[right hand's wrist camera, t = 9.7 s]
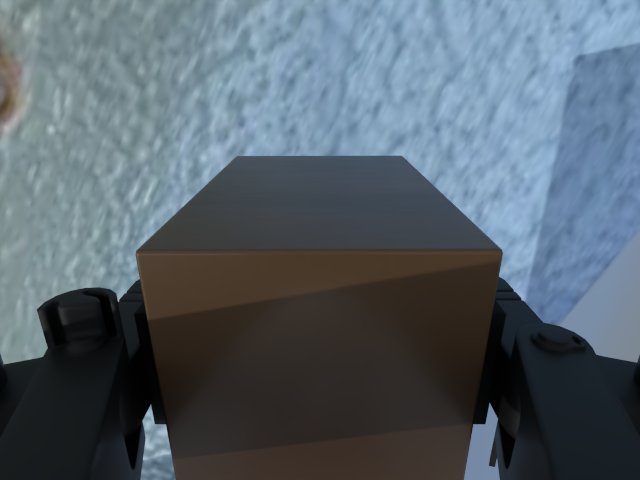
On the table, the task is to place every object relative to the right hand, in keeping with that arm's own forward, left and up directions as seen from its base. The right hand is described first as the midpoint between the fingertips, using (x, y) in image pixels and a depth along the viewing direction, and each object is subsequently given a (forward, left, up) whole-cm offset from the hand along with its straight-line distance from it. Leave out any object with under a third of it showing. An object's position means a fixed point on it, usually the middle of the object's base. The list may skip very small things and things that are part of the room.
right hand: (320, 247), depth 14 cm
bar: (+8, +6, -1) cm, 10 cm away
